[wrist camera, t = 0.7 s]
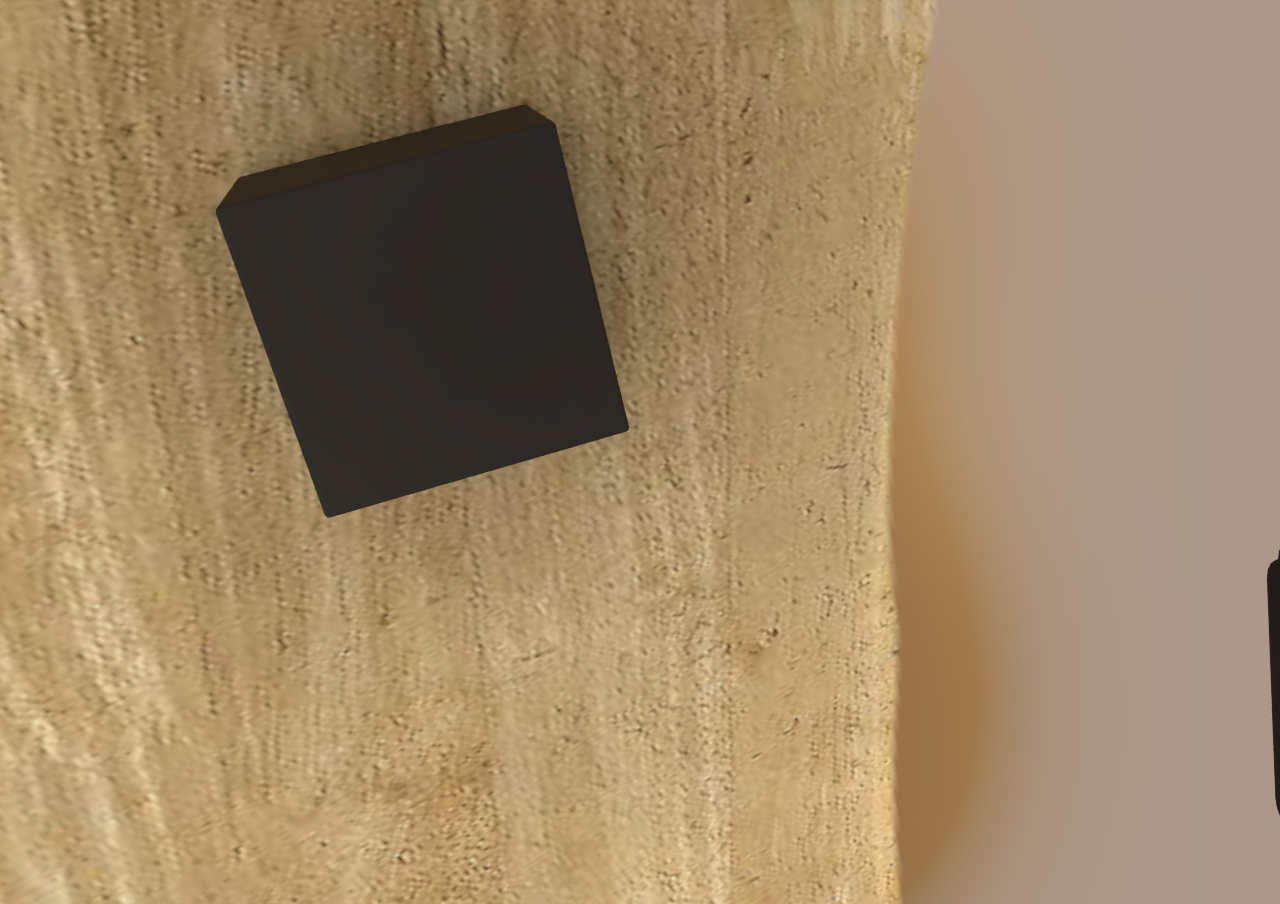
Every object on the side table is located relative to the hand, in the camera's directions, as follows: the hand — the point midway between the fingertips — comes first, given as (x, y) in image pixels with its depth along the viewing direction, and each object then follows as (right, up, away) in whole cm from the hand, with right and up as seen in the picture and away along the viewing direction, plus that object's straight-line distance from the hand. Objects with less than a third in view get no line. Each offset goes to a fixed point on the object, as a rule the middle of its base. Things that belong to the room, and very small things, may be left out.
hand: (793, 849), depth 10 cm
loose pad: (-6, +7, +15) cm, 18 cm away
